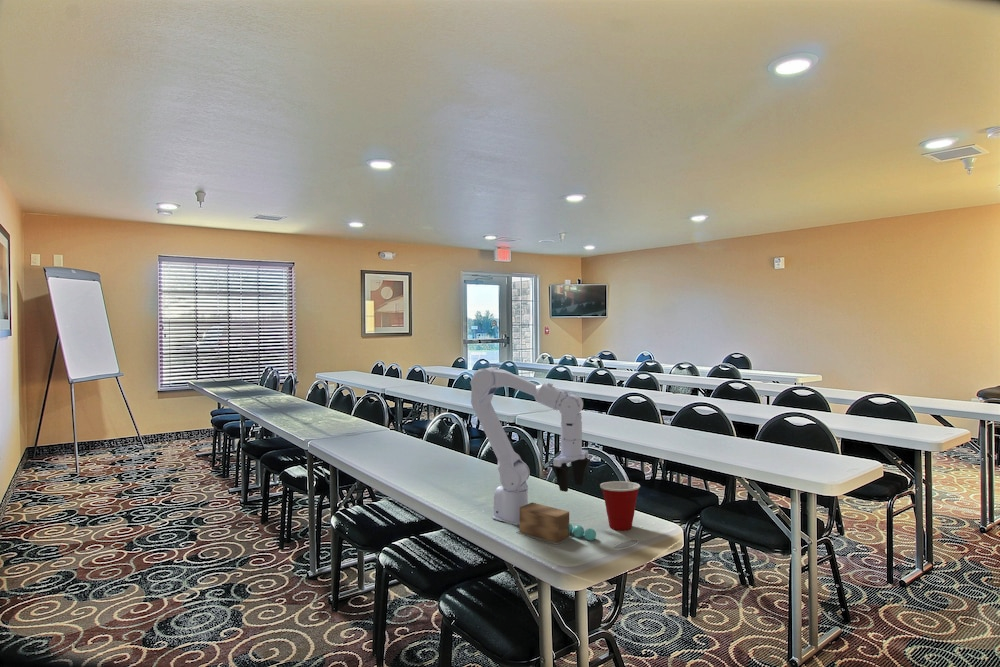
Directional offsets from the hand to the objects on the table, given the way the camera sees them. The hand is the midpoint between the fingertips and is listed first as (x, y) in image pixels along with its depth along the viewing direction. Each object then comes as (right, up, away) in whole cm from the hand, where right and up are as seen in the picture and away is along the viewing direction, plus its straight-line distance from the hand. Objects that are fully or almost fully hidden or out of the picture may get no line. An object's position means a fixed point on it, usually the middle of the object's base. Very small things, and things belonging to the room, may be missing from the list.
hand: (571, 487), depth 152 cm
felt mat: (-8, -11, -7) cm, 15 cm away
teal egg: (+3, -11, -11) cm, 15 cm away
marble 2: (+1, -11, -8) cm, 13 cm away
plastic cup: (+13, -11, -2) cm, 17 cm away
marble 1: (-2, -11, -6) cm, 12 cm away
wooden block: (-8, -10, -8) cm, 15 cm away
